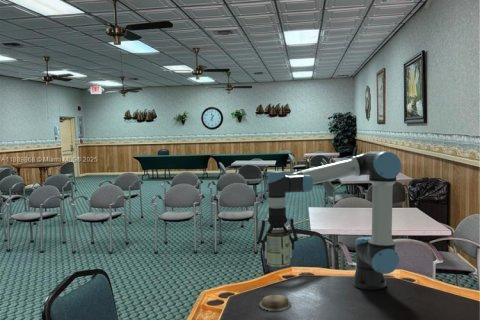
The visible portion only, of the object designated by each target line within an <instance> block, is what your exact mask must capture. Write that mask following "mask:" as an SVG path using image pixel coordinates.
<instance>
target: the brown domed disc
mask: <svg viewBox="0 0 480 320" xmlns="http://www.w3.org/2000/svg"><path fill="white" fill-rule="evenodd" d="M258 306H260V307H261V308H262V309H261V308H260V307H259V308H260V309H261V310H263V309H265V310H264V311H266V310H268V311H267V312H282V310H283V311H286V309H287V310H289V309H290V308H291V307H292V302H291V301H290V300H289V299H288V297H287V296H285V295H282V294H270V295H266V296H264V297H262V300H261V301H260V302H259V304H258Z"/></svg>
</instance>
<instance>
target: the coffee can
mask: <svg viewBox="0 0 480 320" xmlns="http://www.w3.org/2000/svg"><path fill="white" fill-rule="evenodd" d="M267 231H268V230H266V231H265V234H267V240H266V242H265V243H267V259H266V261H267V262H266V265H268V266H270V267H274V268H275V267H276V268H280V267H288V266H290V265H291V258H290V242H291V240H290V239H289V233H290V231H289V230H288V232H285V231H284V229H281V228H276V229H273V230H272V231H271V233H267Z"/></svg>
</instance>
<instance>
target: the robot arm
mask: <svg viewBox="0 0 480 320" xmlns="http://www.w3.org/2000/svg"><path fill="white" fill-rule="evenodd" d="M401 170H402V162H401V160H400V157H399V156H398V155H397V154H395V153H394V152H391V151H388V150H371V151H367V152H364V153H361V154H358V155H353V156H351V157H350V159H346V160H341V161H337V162H333V163H329V164H325V165H320V166H317V167H316V166H315V167H311V168H307V169H303V170H300V171H293V172H287V173H286V172H285V171H284V170H283V171H282V170H273V171H269V172H268V173H267V193H268V194H267V195H268V197H267V199H268V202H267V203H268V209H267V210H268V218H267V219H263V218H262V219H261V226H260V231H259V233H258V237H257V242H258V243H261V247H262V251H263V252H264V259H266V260H267V243H266V240H267V234H266V233H265V227H266V225H267V223H269V227H268V229H267V230H266V231H267V233H271V231H272V230H277V229H282V230H284V231H285V232H288V231H289V230H288V229H287V227H286V224H287V223H288V224H289V226H290V229H291V232H292V235H293V237H292V235H291V234H290V233H289V240H290V259H292V258H293V257H292V256H293V250H294V249H295V243H296V242H298V241H299V238H298V235H297V230H296V229H295V224H294V219H293V218H292V217H290V218H287V207H286V205H287V202H286V201H287V200H286V193H287V194H289V193H307V192H311V191H312V190H313V187H314V185H315V184H319V183H324V182H329V181H334V180H337V179H342V178H347V177H351V176H355V177H360V176H368V177H369V178H368V182H370V184H371V185H372V189H371V190H372V193H371V194H372V195H371V197H372V200H371V202H372V203H371V236H363V237H362V236H361V237H358V238H356V239H355V245H354V246H355V262H356V263H355V265H356V268H355V273H354V275H353V280H352V285H353V287H355V288H358V289H361V290H369V291H371V290H372V291H374V290H375V291H377V290H381V289H384V288H385V287H386V286H387V281H386V278H385V275H387V274H391V273H393V272H394V271H396V270H397V269H398V267H399V265H400V256H399V254H398V253H397V251H396V242H395V241H394V240H393V237H392V236H393V235H392V234H393V233H392V231H393V192H394V191H393V186H394V184H396V183H397V176H399V174H400V172H401ZM264 233H265V235H264ZM263 235H264V237H263Z"/></svg>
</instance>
